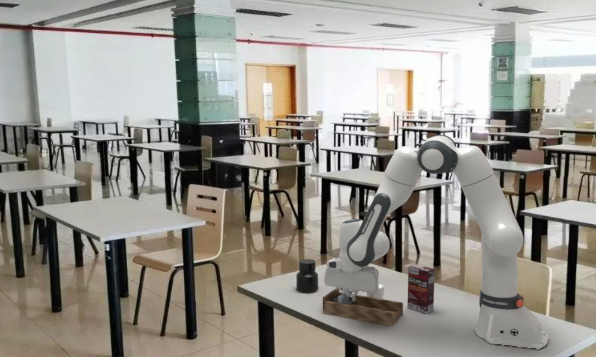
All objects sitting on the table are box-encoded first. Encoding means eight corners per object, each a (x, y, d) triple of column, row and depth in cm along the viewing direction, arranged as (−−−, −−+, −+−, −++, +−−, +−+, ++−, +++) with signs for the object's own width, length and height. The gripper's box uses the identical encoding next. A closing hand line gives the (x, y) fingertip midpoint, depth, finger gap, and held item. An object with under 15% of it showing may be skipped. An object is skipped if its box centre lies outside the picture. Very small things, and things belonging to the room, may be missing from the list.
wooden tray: (402, 314, 210) (403, 298, 209) (391, 326, 199) (391, 309, 199) (336, 302, 222) (336, 287, 222) (322, 313, 212) (322, 297, 211)
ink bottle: (319, 286, 241) (319, 258, 240) (318, 293, 233) (318, 264, 231) (296, 286, 242) (296, 258, 241) (294, 293, 234) (294, 264, 232)
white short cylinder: (383, 307, 217) (383, 289, 216) (365, 306, 219) (365, 288, 218) (384, 301, 224) (384, 283, 223) (366, 299, 225) (366, 282, 224)
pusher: (351, 303, 218) (351, 290, 217) (341, 311, 210) (341, 297, 209) (338, 301, 220) (338, 288, 220) (327, 309, 212) (327, 295, 212)
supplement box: (406, 308, 216) (407, 266, 214) (413, 304, 220) (414, 263, 217) (427, 314, 210) (428, 271, 208) (434, 310, 214) (435, 268, 211)
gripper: (381, 265, 208) (381, 302, 210) (330, 257, 218) (329, 293, 220) (375, 269, 203) (374, 308, 205) (322, 262, 213) (322, 298, 215)
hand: (351, 300), depth 212 cm, fingers closed
